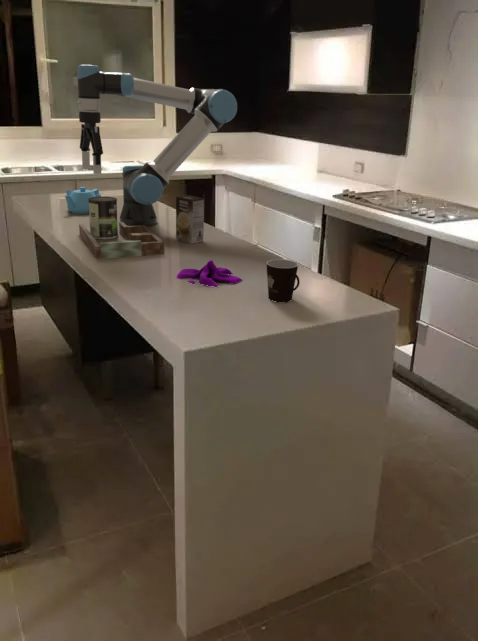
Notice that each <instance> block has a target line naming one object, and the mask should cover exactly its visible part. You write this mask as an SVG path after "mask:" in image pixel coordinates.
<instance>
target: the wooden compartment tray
mask: <svg viewBox="0 0 478 641" xmlns="http://www.w3.org/2000/svg"><path fill="white" fill-rule="evenodd" d="M78 225H79V226H78V230H79V231H78V232H79V235H80V237H81V239H82V240H83V242H84V243H85V244H86V246H87V248H89V250H90V252H91V253H92V254H93V256H94V258H95V259H96V260H102V259H115V258H117V259H118V258H132V257H133V256H134V257H145V256H150V255H164V254H165V242H164V241H163V240H162V239H161V238H160V237H159V236H157V235H156V234H155V233H154V232H153V231H151V229H149V228H148V227H147V226H145V225H139V226H129V225H126V224H125V223H124V222H120V221H119V222H118V228H119V229H118V233H119V234H120V235H121V236H122V237H123V238H127V239H128V238H130V240H124V241H108V242H107V241H106V242H104V241H103V242H98V241H97V239H94V237H93V236H92V235H91V233H90V230H88V229H87V227H86V226H85V224H84V223H79V224H78Z"/></svg>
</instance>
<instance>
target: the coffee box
mask: <svg viewBox="0 0 478 641" xmlns="http://www.w3.org/2000/svg"><path fill="white" fill-rule="evenodd" d="M204 223H205V198H203V197H199V196H195V195H191V194H185V195H179V196H175V240H177V241H181V242H184V243H188V244H191V245H192V244H193V243H194V244H197V243H202V242H204V236H205V235H204V231H205V230H204V229H205V228H204V227H205V224H204ZM194 244H193V245H194Z"/></svg>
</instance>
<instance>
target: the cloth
mask: <svg viewBox="0 0 478 641" xmlns="http://www.w3.org/2000/svg"><path fill="white" fill-rule="evenodd" d="M228 274H230V275H228ZM231 274H232V275H231ZM188 278H192V279H188ZM176 279H177V280H182V279H188V280H187V282H188V283H189V282H190V283H192V284H191V285H193V284H195V283H196V281H195V280H198V281H199V283H200V284H199V283H198V284H199V285H201V284H204V285H203V286H205V285H208V286H214V287H217V286H219V284H217V282H214V281H219V282H220V283H225V282H226V284H229V283H231V284H230V285H235V284H238V283H240V282H242V281H243V279H242V278H241V277H239V276H236V275H233V272H232V271H231V270H230V269H228V268H226V267H222V266H221V267H220V266H219V267H217V265H216V264H215V263H214V260H212V259H210V260H208V261H207V263H205V265H204V266H203V267H201V268H200V269H197V268H183V269H181V270H180V271H179V272H178V274H177V275H176ZM194 281H195V282H194ZM237 282H238V283H237ZM190 283H189V284H190ZM234 283H235V284H234ZM195 285H196V284H195ZM208 286H207V287H208ZM214 287H213V288H214ZM217 288H218V287H217Z"/></svg>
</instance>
